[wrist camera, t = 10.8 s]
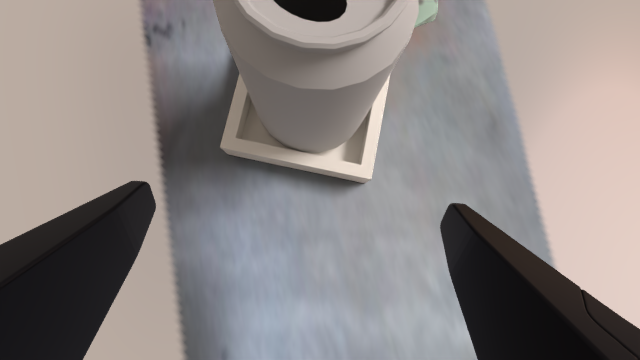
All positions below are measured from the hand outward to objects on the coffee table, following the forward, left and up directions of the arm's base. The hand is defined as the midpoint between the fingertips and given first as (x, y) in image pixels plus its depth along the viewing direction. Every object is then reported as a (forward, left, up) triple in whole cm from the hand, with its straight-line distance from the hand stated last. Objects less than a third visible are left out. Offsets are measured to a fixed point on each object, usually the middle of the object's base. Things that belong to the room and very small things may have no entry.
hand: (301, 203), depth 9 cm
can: (+8, +1, -11) cm, 14 cm away
